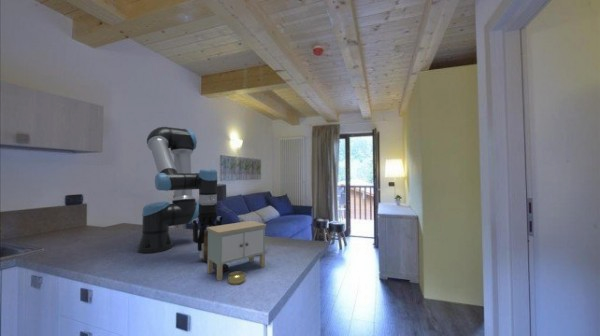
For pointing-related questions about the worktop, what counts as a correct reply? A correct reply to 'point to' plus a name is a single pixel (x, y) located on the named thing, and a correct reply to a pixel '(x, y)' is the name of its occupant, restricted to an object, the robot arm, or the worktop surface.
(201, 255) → the robot arm
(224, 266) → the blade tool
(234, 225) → the cabinet
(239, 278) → the token
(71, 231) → the worktop surface
